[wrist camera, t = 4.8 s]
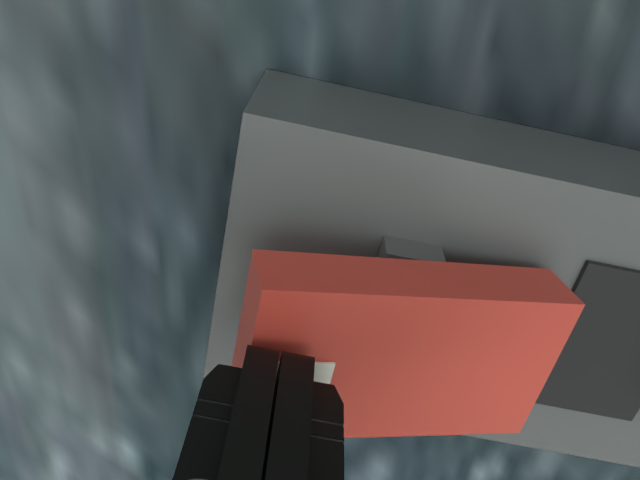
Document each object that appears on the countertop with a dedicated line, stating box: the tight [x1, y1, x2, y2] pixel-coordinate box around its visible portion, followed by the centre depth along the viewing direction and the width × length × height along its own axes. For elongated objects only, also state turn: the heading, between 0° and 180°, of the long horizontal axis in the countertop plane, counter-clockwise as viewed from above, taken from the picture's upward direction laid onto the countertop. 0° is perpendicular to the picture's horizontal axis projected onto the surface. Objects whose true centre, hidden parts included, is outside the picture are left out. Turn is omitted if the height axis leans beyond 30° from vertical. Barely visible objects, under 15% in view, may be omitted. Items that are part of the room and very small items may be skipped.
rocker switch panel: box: [203, 69, 640, 467], centre depth 19 cm, size 23×9×6 cm, turn 78°
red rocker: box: [232, 249, 585, 438], centre depth 15 cm, size 8×4×2 cm, turn 79°
